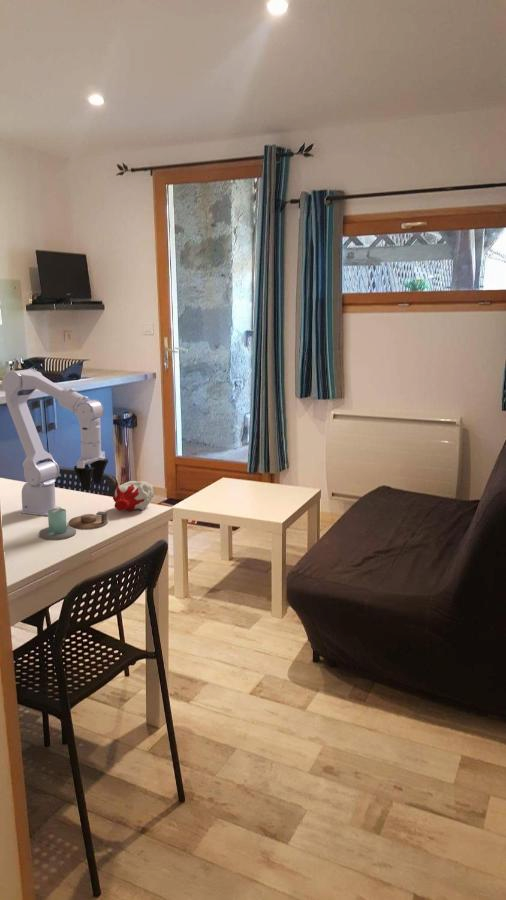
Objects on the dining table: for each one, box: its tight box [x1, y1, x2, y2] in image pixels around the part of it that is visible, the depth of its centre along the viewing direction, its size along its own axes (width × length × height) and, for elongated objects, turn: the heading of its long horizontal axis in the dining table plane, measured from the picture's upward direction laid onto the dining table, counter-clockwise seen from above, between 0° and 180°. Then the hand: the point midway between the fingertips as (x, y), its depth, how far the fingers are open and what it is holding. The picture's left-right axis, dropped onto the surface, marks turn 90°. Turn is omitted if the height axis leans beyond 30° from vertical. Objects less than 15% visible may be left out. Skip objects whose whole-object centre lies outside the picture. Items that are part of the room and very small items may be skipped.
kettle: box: [47, 507, 67, 536], centre depth 182 cm, size 6×5×6 cm
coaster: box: [38, 525, 77, 541], centre depth 184 cm, size 10×10×1 cm
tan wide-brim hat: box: [68, 511, 109, 530], centre depth 193 cm, size 11×11×4 cm
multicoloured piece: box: [112, 480, 155, 512], centre depth 205 cm, size 9×11×15 cm
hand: (92, 486), depth 194 cm, fingers open, 7 cm apart
